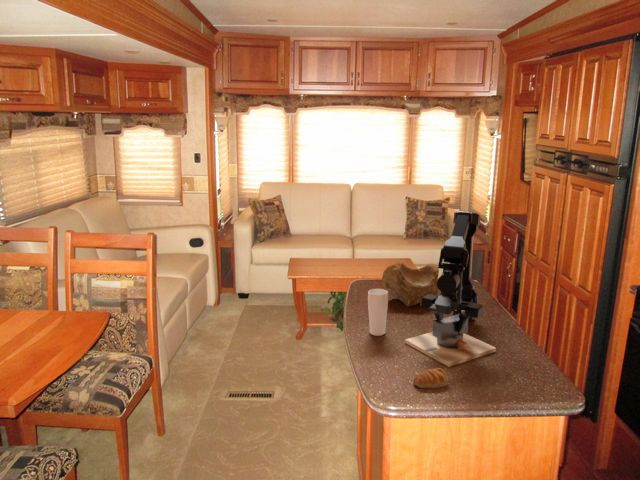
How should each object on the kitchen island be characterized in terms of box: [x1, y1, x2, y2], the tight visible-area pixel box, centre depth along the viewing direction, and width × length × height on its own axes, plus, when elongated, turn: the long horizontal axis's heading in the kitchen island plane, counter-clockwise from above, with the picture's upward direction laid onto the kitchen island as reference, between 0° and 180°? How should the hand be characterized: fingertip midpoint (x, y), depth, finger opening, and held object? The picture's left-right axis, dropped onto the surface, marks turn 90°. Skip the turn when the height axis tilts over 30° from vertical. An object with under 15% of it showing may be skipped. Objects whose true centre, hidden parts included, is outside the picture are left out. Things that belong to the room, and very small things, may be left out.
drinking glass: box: [367, 288, 389, 337], centre depth 178 cm, size 7×7×15 cm
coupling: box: [432, 314, 469, 350], centre depth 166 cm, size 11×11×8 cm
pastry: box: [413, 367, 449, 389], centre depth 146 cm, size 9×7×4 cm
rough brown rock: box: [381, 261, 440, 307], centre depth 209 cm, size 23×17×15 cm
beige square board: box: [404, 331, 497, 368], centre depth 169 cm, size 20×20×1 cm
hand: (449, 331), depth 168 cm, fingers closed on coupling, 6 cm apart
